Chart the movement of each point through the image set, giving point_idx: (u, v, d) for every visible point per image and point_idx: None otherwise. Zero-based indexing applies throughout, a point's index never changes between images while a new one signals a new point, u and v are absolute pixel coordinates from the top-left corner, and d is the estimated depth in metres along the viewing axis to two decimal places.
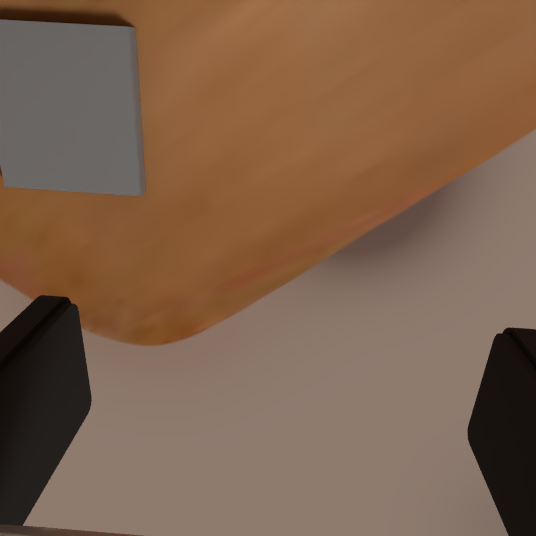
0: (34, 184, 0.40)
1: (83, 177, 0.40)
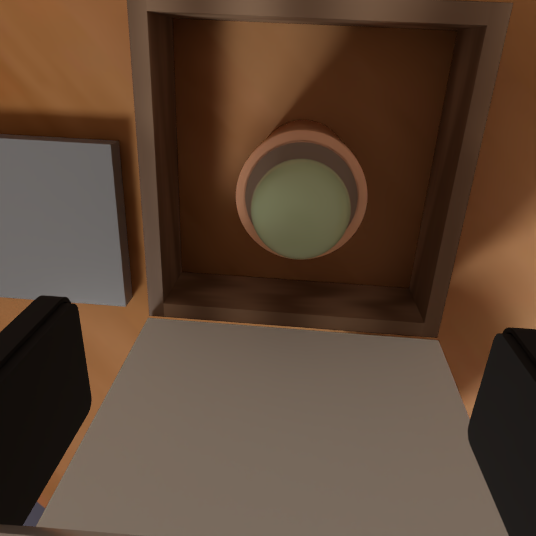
0: None
1: None
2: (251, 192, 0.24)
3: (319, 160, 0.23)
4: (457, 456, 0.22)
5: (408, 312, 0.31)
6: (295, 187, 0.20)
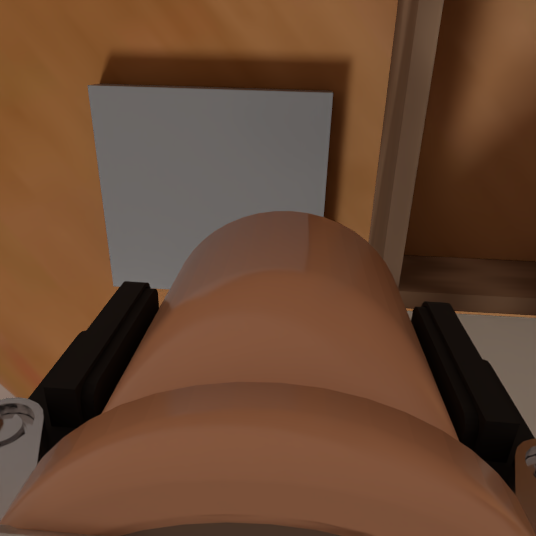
0: (101, 138, 0.26)
1: (126, 214, 0.28)
2: None
3: None
4: None
5: None
6: None
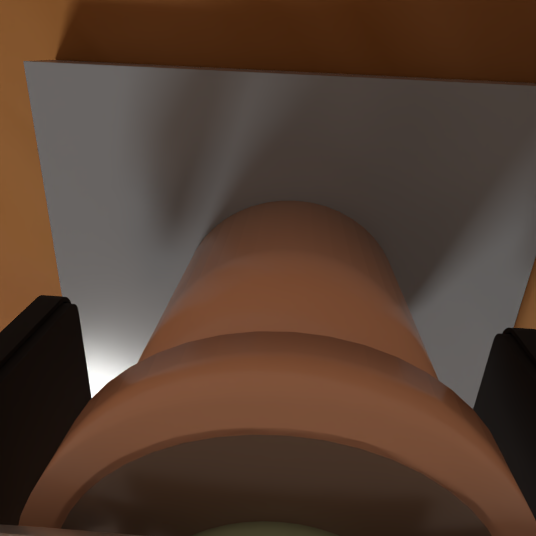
0: (57, 176, 0.12)
1: (109, 323, 0.14)
2: None
3: (354, 502, 0.05)
4: None
5: None
6: None
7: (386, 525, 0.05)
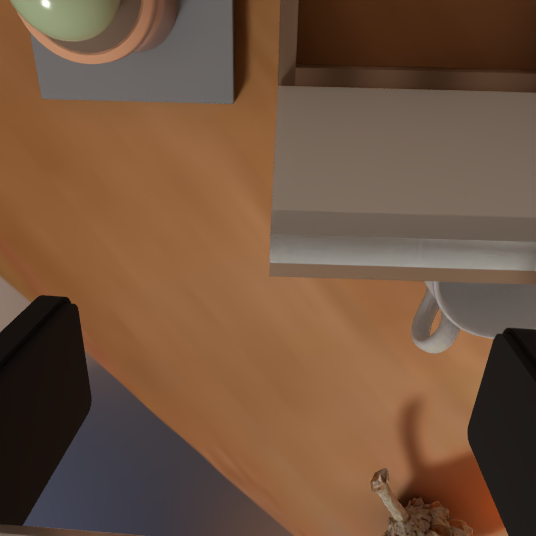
0: None
1: None
2: None
3: None
4: None
5: None
6: None
7: None
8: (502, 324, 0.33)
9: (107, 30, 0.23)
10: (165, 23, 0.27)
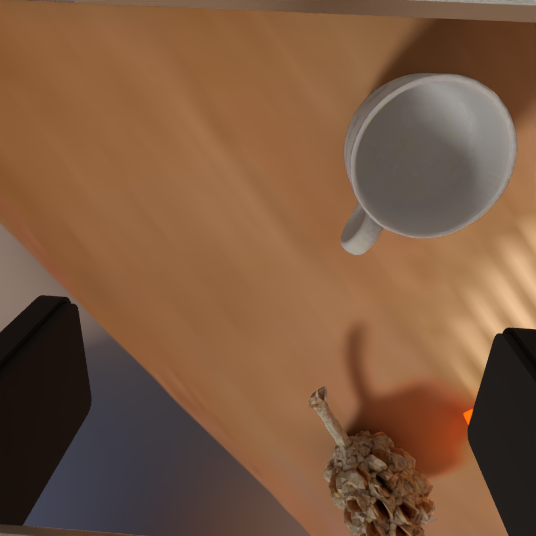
0: None
1: None
2: None
3: None
4: None
5: None
6: None
7: None
8: (424, 226, 0.34)
9: None
10: None
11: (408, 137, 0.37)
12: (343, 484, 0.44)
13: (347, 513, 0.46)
